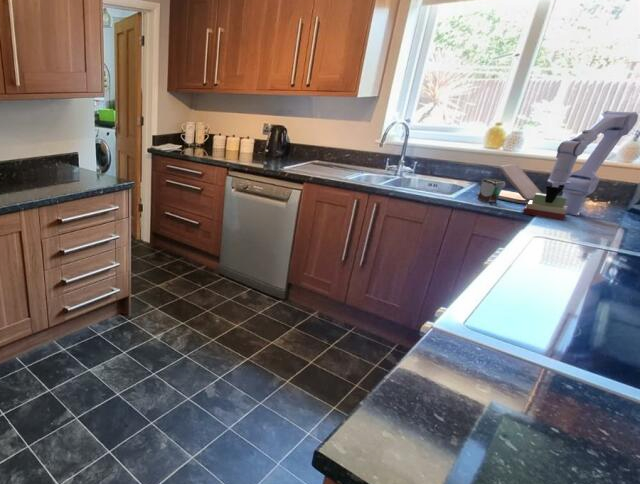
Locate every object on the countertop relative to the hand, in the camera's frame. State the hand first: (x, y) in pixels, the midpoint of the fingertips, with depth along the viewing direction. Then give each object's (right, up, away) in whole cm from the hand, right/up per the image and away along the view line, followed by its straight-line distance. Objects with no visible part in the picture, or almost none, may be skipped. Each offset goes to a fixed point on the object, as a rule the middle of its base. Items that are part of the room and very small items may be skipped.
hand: (548, 201), depth 183 cm
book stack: (0, -5, +2) cm, 6 cm away
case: (+10, +6, +31) cm, 33 cm away
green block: (0, -1, +1) cm, 1 cm away
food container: (-6, +3, +23) cm, 24 cm away
